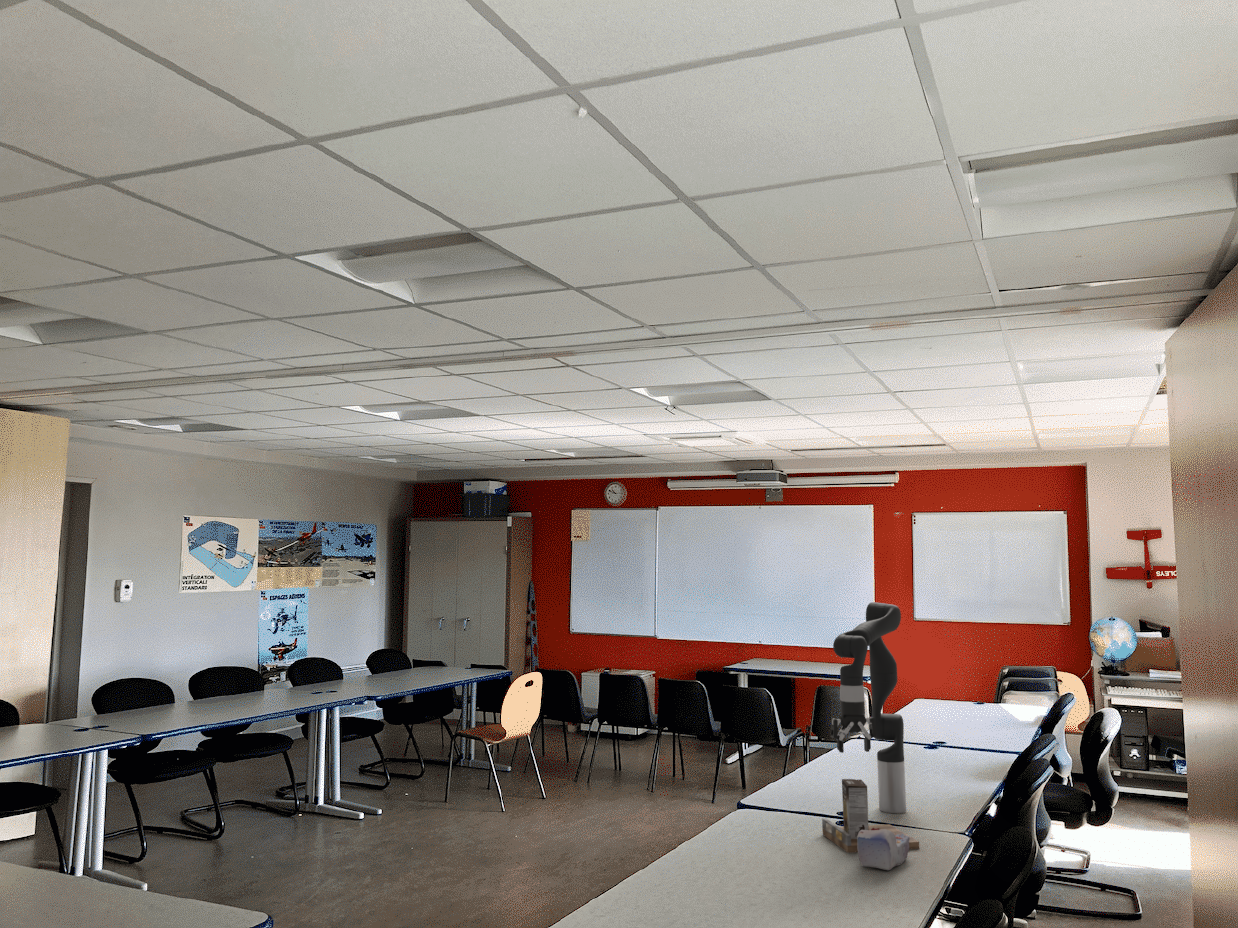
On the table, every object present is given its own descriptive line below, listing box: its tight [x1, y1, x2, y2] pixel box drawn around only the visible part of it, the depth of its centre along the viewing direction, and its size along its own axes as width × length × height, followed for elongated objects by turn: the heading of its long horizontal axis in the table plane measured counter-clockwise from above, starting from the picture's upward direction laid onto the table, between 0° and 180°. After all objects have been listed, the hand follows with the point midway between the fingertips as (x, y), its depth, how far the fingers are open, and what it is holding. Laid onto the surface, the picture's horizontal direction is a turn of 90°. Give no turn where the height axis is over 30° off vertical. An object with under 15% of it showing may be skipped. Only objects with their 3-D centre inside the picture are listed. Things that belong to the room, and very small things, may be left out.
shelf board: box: [821, 817, 920, 854], centre depth 291 cm, size 20×23×5 cm
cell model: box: [857, 828, 911, 871], centre depth 270 cm, size 13×11×20 cm
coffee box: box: [841, 778, 869, 839], centre depth 291 cm, size 9×6×16 cm
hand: (854, 751), depth 293 cm, fingers open, 8 cm apart
